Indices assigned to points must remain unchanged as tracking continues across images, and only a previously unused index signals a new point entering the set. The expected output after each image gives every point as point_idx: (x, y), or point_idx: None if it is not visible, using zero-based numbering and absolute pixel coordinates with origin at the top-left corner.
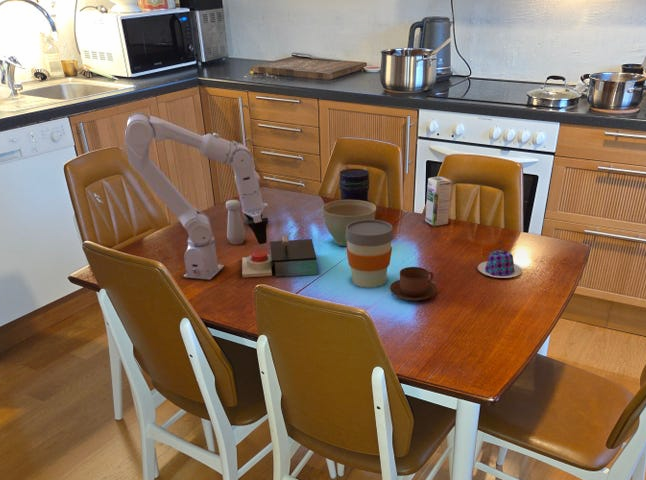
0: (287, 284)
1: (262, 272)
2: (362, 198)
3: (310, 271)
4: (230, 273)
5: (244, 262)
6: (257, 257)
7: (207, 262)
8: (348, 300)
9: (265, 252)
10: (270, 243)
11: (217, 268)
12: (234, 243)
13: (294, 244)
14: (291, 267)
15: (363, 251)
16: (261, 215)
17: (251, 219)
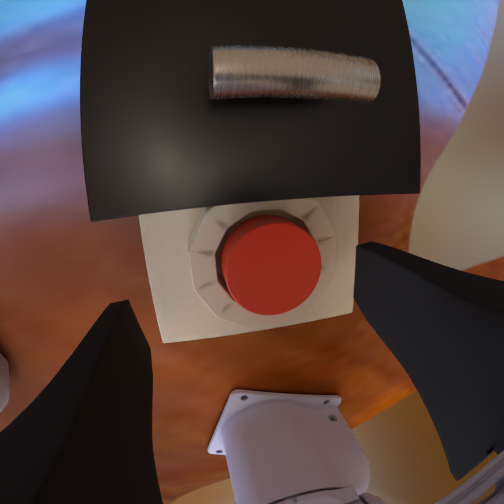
0: (425, 130)
1: (355, 230)
2: None
3: None
4: (296, 355)
5: (226, 327)
6: (318, 275)
7: (341, 440)
8: (486, 10)
9: (254, 234)
10: (132, 211)
11: (278, 403)
12: (8, 371)
13: (173, 31)
14: None
15: None
16: (76, 441)
17: (146, 482)
